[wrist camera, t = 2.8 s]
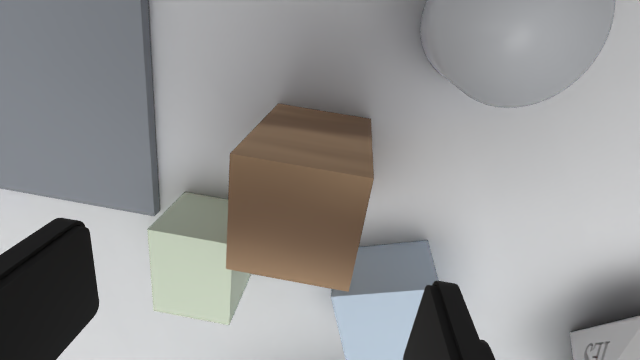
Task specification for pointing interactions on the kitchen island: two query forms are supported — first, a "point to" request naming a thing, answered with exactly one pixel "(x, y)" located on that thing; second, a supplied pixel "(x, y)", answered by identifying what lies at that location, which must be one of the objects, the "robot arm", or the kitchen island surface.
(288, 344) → the kitchen island surface
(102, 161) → the slate mat
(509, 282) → the kitchen island surface
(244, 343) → the kitchen island surface
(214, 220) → the sage block
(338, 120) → the walnut block
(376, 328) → the dusty blue cube
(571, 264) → the kitchen island surface
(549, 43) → the grey rounded piece
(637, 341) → the die
